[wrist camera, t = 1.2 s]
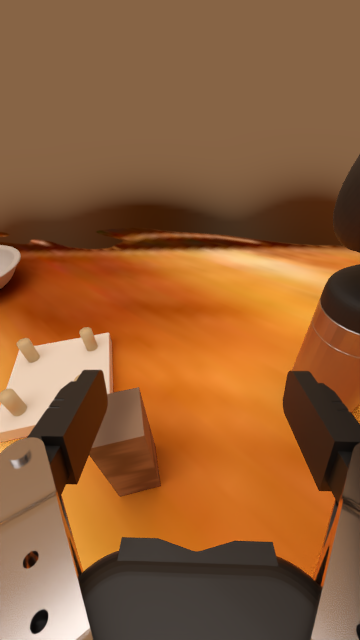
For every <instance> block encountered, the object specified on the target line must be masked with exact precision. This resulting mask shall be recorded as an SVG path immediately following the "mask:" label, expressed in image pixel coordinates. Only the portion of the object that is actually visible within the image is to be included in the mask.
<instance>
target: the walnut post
mask: <svg viewBox="0 0 360 640" xmlns="http://www.w3.org/2000/svg"><path fill="white" fill-rule="evenodd" d="M107 396H108V406H107V411H106V414H105V416H104V419H103V421H102V424H101V426H100V429H99V431H98V433H97V436H96V438H95V441H94V443H93V446H92V448H91V451H90V453H89V455H90V457H91V458H92V459H93V461H94V462H95V463H96V465H97V466H98V468H99V469H100V470H101V472H102V473H103V474H104V476H105V477H106V478H107V480H108V481H109V483H110V484H111V485H112V487H113V488H114V489H115V491H116V492H117V493H118V495H119V496H120V497H121V496H124V495H128V494H132V493H136V492H140V491H143V490H147V489H151V488H155V487H159V486H161V485H160V477H159V470H158V463H157V456H156V449H155V443H154V440H153V436H152V433H151V429H150V425H149V422H148V418H147V415H146V411H145V407H144V404H143V400H142V397H141V393H140V390H139V387H138V388H133V389H129V390H124V391H119V392H115V393H110V394H107Z"/></svg>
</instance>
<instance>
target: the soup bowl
mask: <svg viewBox="0 0 360 640" xmlns="http://www.w3.org/2000/svg"><path fill="white" fill-rule="evenodd" d="M20 258H21V255H20V253H19V251H18V250H17V249H15V248H13V247H10V246H3V245H0V289H1V288H2V287H4V286H5V285H6V284H7V283H8V282H9V280H10V279H11V278H12V276H13V274H14V272H15V268H16V266H17V265H18V263H19V261H20Z"/></svg>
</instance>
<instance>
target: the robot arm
mask: <svg viewBox="0 0 360 640" xmlns="http://www.w3.org/2000/svg"><path fill="white" fill-rule="evenodd" d="M333 225H334V232H335V234H336V237H337V239H338V240H339V241H340V243H341V244H342V245H344V246H345V247H347V248H348V249H350V250H353V251H357V252H360V155H359V157H358V158H357V160H356V161H355V163H354V165H353V166H352V168H351V170H350V172H349V174H348V175H347V177H346V179H345V181H344V183H343V185H342V188H341V190H340V192H339V195H338V198H337V202H336V205H335V209H334V215H333ZM359 405H360V264H359V265H355V266H350V267H347V268H344V269H341V270H339V271H337V272H336V273H334V274H333V275H332V276H331V277H330V278H329V279H328V281H327V283H326V285H325V287H324V290H323V292H322V295H321V298H320V300H319V303H318V305H317V308H316V310H315V313H314V315H313V318H312V321H311V323H310V326H309V328H308V331H307V333H306V336H305V339H304V341H303V344H302V346H301V349H300V351H299V354H298V356H297V359H296V362H295V364H294V367H293V369H292V371H289V372H288V375H287V380H286V386H285V391H284V397H283V409H284V413H285V416H286V418H287V420H288V422H289V425H290V427H291V429H292V431H293V434H294V436H295V438H296V440H297V443H298V445H299V447H300V449H301V452H302V454H303V456H304V458H305V461H306V463H307V465H308V467H309V469H310V472H311V474H312V476H313V478H314V481H315V483H316V485H317V487H318V490H319V491H332V493H333V495H334V497H335V502H334V504H333V508H332V512H331V516H330V519H329V523H328V527H327V531H326V535H325V538H324V542H323V546H322V550H321V554H320V557H319V561H318V564H317V567H316V570H315V573H314V577H313V579H312V578H311V577H310V576H309V575H308V574H306V573H305V572H304V571H303V570H301V569H300V568H298V567H297V566H295V565H294V564H292V563H290V562H288V561H286V560H284V559H282V558H280V557H277V556H276V554H275V550H274V546H273V542H254V541H233V542H230V543H226V544H223V545H219V546H216V547H213V548H209V549H206V550H203V551H199V552H195V551H191V550H189V549H186V548H183V547H180V546H178V545H175V544H172V543H169V542H167V541H164V540H161V539H158V538H126V537H122V540H121V545H120V549H119V551H117V552H114V553H111V554H109V555H107V556H105V557H103V558H101V559H100V560H98V561H96V562H95V563H94V564H92V565H91V566H90V567H88V568H87V569H86V570H85V571H84V572H83V569H82V566H81V562H80V559H79V556H78V553H77V549H76V546H75V542H74V539H73V535H72V531H71V528H70V524H69V520H68V517H67V513H66V509H65V506H64V502H63V499H62V495H61V494H62V492H63V489H64V487H65V485H66V484H77V483H78V481H79V478H80V476H81V473H82V471H83V468H84V466H85V463H86V461H87V458H88V456H89V453H90V451H91V448H92V446H93V443H94V441H95V438H96V436H97V433H98V431H99V429H100V426H101V424H102V421H103V419H104V416H105V414H106V411H107V406H108V396H107V390H106V385H105V379H104V374H103V371H102V370H83V371H82V373H81V374H80V376H79V377H78V379H77V380H76V381H71V382H69V383H68V384H67V385H65V386H64V387H63V388H62V389H60V391H59V392H58V394H57V395H56V397H55V398H54V400H53V401H52V402H51V404H50V405H49V408H47V410H46V411H45V412H44V414H43V415H42V417H41V418H40V420H39V421H38V422H37V424H36V425H35V427H34V428H33V430H32V431H31V432H30V434H29V435H28V437H27V438H24V439H21V440H18V441H16V442H14V443H12V444H11V445H9V446H8V447H7V448H5V449H4V450H3V451H2V452H1V453H0V640H360V424H359V423H358V421H357V420H356V419H355V418H354V416H353V415H352V414H351V413H352V412H353V410H354V409H355V408H356V407H358V406H359Z"/></svg>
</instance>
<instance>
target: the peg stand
mask: <svg viewBox="0 0 360 640" xmlns="http://www.w3.org/2000/svg"><path fill="white" fill-rule="evenodd" d="M79 333H80V336H81V338H77V339H71V340H66V341H60V342H55V343H50V344H44V345H39V346H33V344H32V343H31V341H30V340H29V339H28V338H23V339H21V340H19V341H18V342H17V347H18V348H19V349H20V350H19V353H18V356H17V359H16V362H15V365H14V368H13V371H12V374H11V377H10V380H9V383H8V386H7V389H5V390H3V391H2V392H1V393H0V402H1V406H0V442H5V441H9V440H14V439H18V438H23V437H27V436H28V435H29V434H30V432H31V431H32V430H33V428H34V427H35V425H36V424H37V422H38V421H39V420H40V418H41V417H42V415H43V414H44V412H45V411H46V410H47V408H49V405H50V404H51V402H52V401H53V400H54V398H55V397H56V395H57V394H58V392H59V391H60V389H62V388H63V387H64V386H65V385H67V384H68V383H69V382H71V381H76V380H77V379H78V377H79V376H80V374H81V373H82V371H83V370H102V371H103V374H104V379H105V385H106V390H107V394H110V393H113V369H112V341H111V338H110V335H109V333H104V334H99V335H93V332H92V330H91V328H89V327H85V328H83V329H81V330H80V332H79Z"/></svg>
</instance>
